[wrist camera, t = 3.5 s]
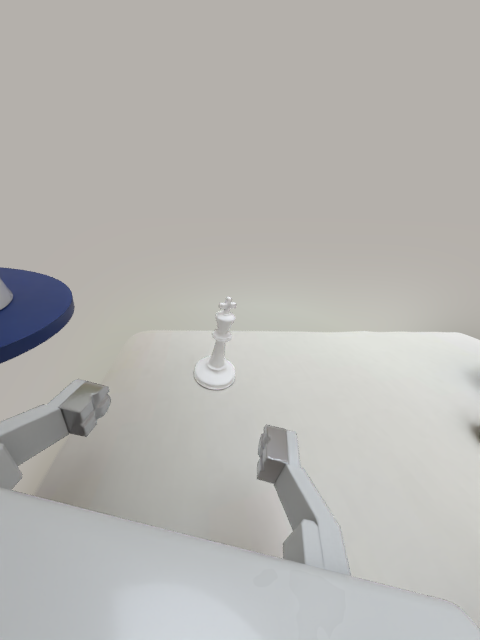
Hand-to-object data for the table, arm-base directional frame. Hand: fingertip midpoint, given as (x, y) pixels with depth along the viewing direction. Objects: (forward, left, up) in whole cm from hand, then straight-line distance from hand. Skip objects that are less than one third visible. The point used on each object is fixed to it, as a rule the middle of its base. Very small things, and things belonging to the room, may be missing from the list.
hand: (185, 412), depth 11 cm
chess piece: (+4, +11, -9) cm, 15 cm away
